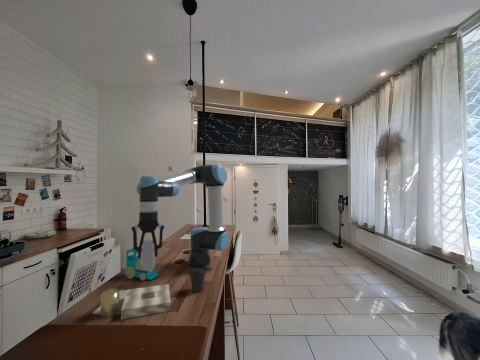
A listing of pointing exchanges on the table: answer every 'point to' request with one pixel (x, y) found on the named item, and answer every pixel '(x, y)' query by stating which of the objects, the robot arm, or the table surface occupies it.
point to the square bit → (147, 255)
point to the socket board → (146, 301)
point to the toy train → (137, 267)
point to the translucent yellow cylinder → (109, 302)
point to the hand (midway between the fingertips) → (147, 264)
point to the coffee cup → (197, 279)
